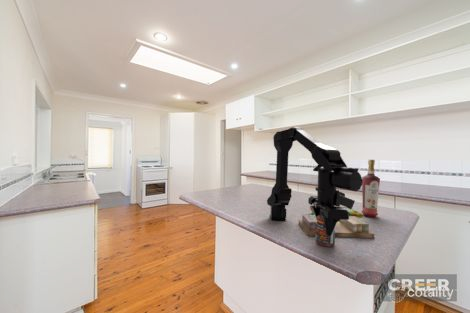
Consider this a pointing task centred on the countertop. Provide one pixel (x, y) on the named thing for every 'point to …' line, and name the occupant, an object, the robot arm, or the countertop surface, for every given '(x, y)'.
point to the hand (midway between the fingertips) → (325, 231)
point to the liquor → (370, 191)
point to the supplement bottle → (323, 233)
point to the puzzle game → (351, 211)
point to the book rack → (339, 227)
